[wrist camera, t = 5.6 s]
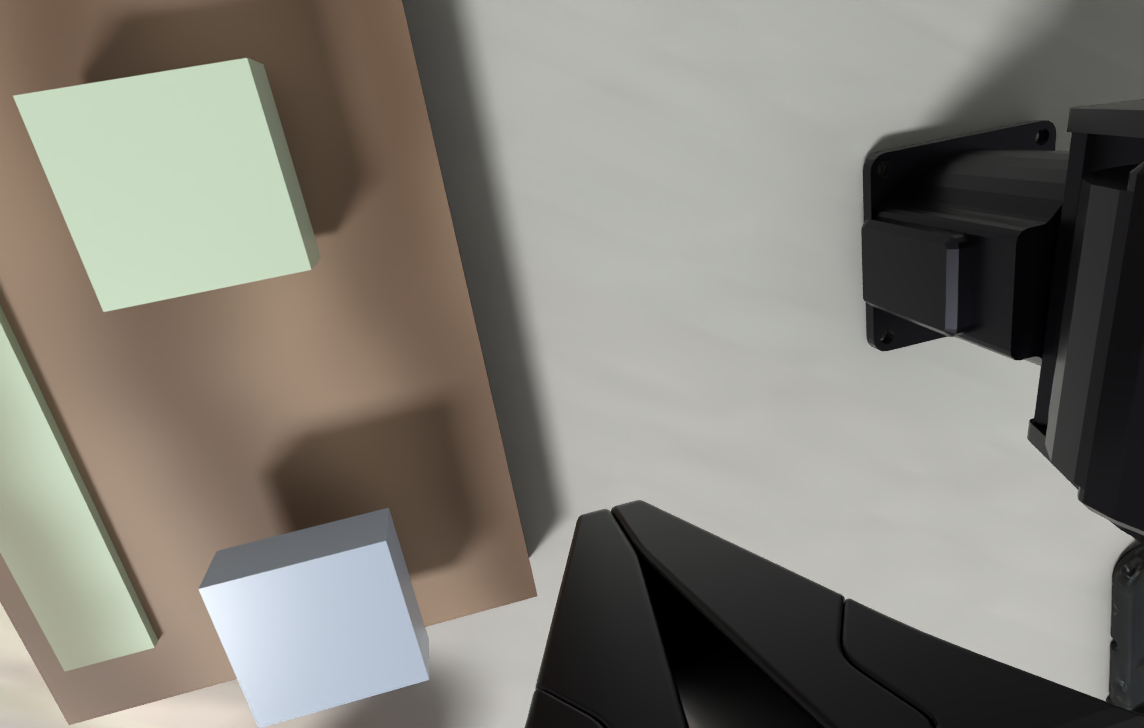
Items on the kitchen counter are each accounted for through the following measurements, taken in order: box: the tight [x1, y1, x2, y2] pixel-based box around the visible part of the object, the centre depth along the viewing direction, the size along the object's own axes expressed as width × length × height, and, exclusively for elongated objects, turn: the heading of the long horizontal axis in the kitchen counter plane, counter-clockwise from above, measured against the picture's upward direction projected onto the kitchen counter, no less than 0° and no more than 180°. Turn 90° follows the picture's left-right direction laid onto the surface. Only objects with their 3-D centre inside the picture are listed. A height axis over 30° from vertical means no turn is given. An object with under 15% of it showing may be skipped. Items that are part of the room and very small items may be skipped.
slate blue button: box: [199, 508, 429, 728], centre depth 18 cm, size 4×4×2 cm
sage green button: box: [13, 58, 321, 312], centre depth 15 cm, size 4×4×2 cm
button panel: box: [0, 0, 537, 725], centre depth 17 cm, size 14×28×2 cm, turn 10°
